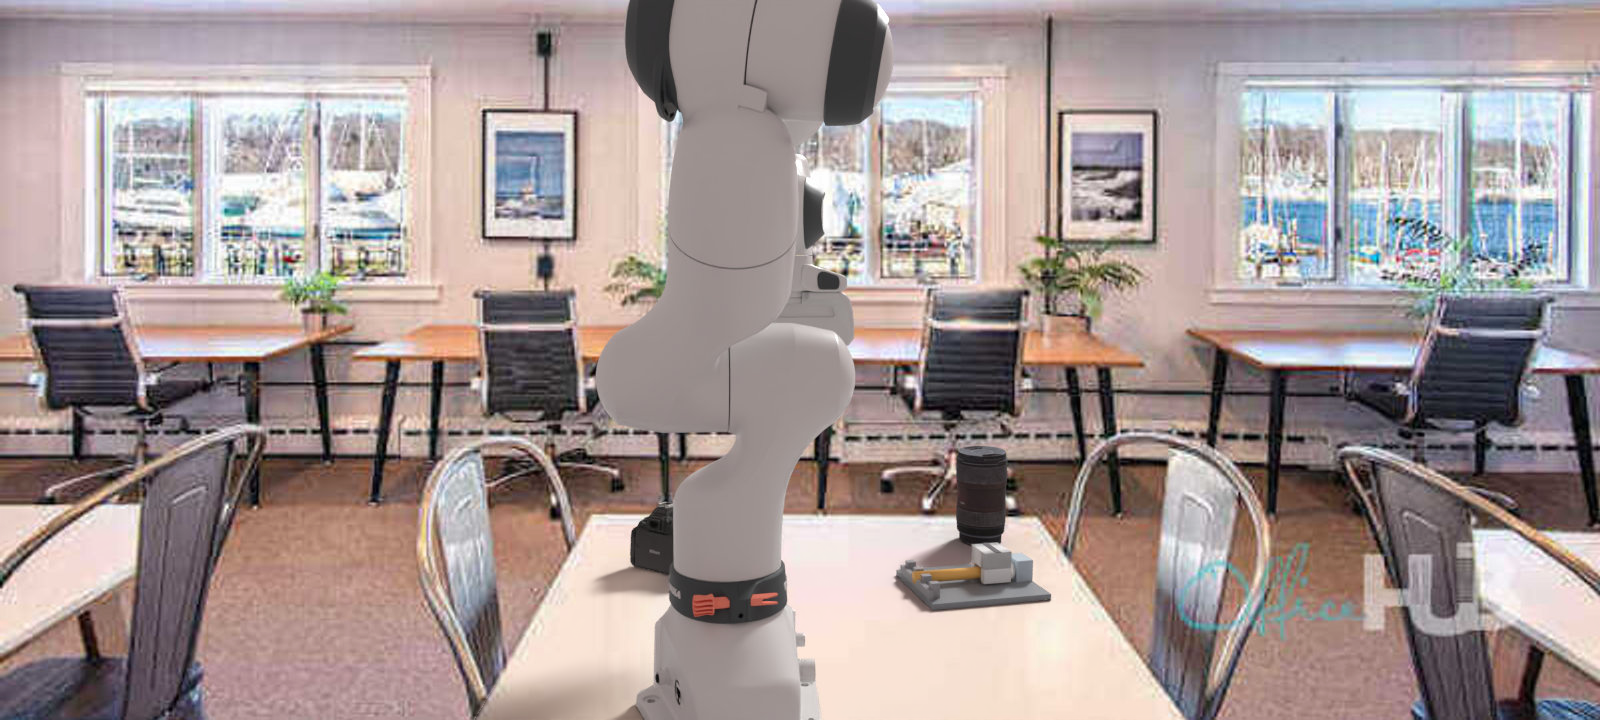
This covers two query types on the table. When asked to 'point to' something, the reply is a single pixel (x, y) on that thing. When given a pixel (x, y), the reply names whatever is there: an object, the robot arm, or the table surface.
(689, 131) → the robot arm
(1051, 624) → the table surface
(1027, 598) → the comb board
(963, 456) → the camera lens
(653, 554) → the camera
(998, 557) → the sleeve
